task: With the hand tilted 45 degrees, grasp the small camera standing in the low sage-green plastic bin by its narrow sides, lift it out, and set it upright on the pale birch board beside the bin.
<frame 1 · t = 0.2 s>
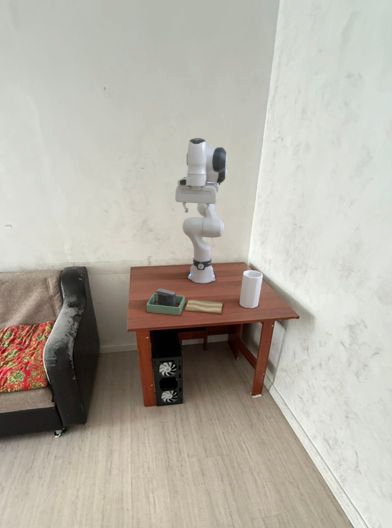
hand: (195, 212, 145), 48 cm above the table, tool pointing down, fingers open, 8 cm apart
cup: (248, 304, 171), on the table
bin: (166, 307, 165), on the table
camera: (166, 307, 165), resting in bin
board: (204, 307, 166), on the table
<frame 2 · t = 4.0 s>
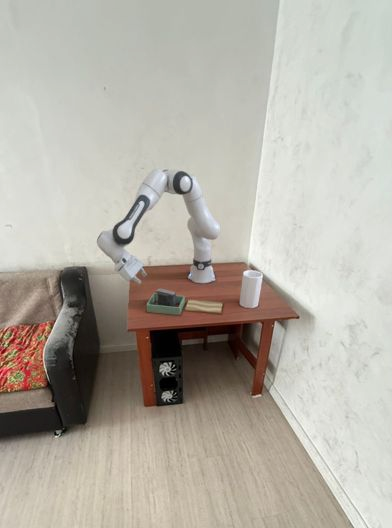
hand: (143, 279, 157), 16 cm above the table, tool tilted 45°, fingers open, 8 cm apart
nothing on the table moved.
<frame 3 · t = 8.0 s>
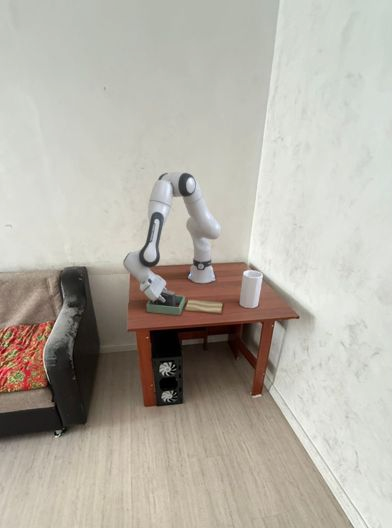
hand: (166, 298, 161), 6 cm above the table, tool tilted 45°, fingers closed on camera, 6 cm apart
camera: (166, 307, 165), resting in bin, touching gripper
everything else where it was.
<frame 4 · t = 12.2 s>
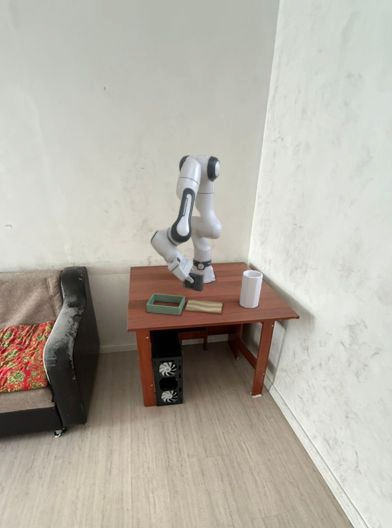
hand: (194, 279, 156), 17 cm above the table, tool tilted 45°, fingers closed on camera, 6 cm apart
camera: (193, 289, 159), point 11 cm above the table, touching gripper
everything else where it was.
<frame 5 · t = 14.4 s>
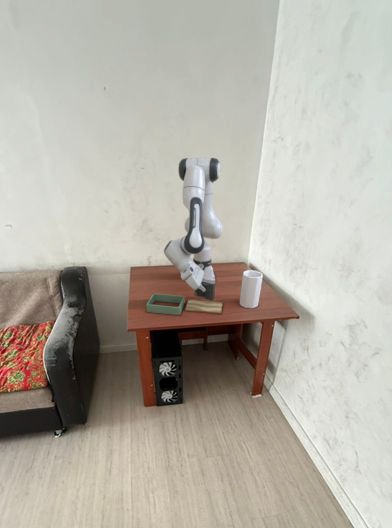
hand: (205, 287, 159), 12 cm above the table, tool tilted 45°, fingers closed on camera, 6 cm apart
camera: (204, 297, 162), point 6 cm above the table, touching gripper
everything else where it was.
when the fingers open (7 cm above the table, at t = 16.5 s): camera stays where it is, resting on board.
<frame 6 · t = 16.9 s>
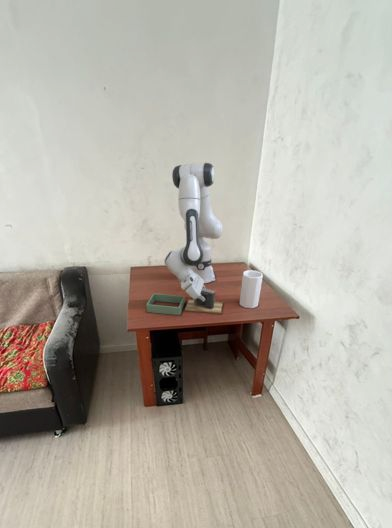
hand: (205, 296, 162), 7 cm above the table, tool tilted 45°, fingers open, 8 cm apart
camera: (204, 306, 165), point 1 cm above the table, touching board
everything else where it was.
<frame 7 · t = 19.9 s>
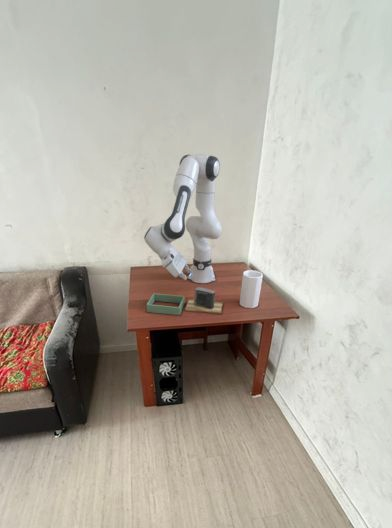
hand: (188, 275, 156), 18 cm above the table, tool tilted 45°, fingers open, 8 cm apart
nothing on the table moved.
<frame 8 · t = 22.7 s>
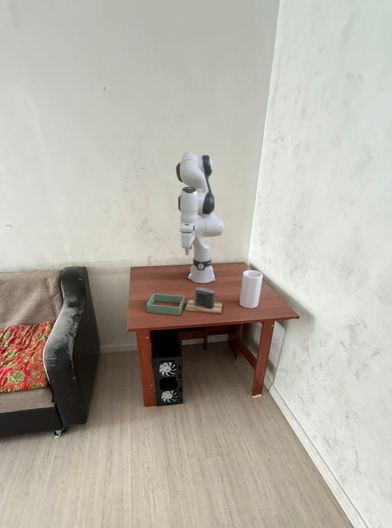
hand: (188, 252, 154), 29 cm above the table, tool pointing down, fingers open, 8 cm apart
nothing on the table moved.
at the end: camera inside the target area on the board (0.6 cm from its centre), point 0.8 cm above the board's base; camera tilted 0°; the gripper is holding nothing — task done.
